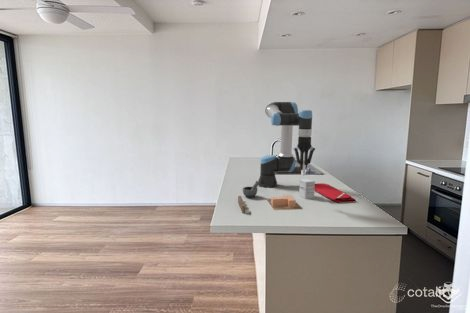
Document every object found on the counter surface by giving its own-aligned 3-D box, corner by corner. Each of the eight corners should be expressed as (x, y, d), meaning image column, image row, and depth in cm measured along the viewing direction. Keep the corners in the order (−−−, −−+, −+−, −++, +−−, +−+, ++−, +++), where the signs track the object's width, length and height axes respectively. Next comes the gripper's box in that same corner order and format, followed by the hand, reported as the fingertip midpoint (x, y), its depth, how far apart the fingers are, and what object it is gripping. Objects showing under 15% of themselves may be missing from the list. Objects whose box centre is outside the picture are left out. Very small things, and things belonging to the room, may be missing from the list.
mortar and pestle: (242, 200, 191) (242, 182, 189) (242, 196, 200) (242, 179, 198) (259, 200, 190) (259, 182, 188) (259, 196, 199) (259, 179, 197)
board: (238, 202, 186) (238, 195, 185) (292, 200, 190) (292, 194, 189) (242, 213, 166) (242, 205, 166) (302, 211, 170) (303, 203, 170)
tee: (269, 201, 184) (270, 195, 183) (289, 201, 185) (290, 195, 184) (274, 207, 173) (274, 201, 172) (295, 206, 174) (295, 200, 174)
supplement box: (298, 197, 197) (299, 179, 195) (307, 196, 200) (308, 178, 198) (304, 200, 190) (305, 181, 188) (314, 199, 193) (315, 180, 191)
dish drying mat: (326, 186, 228) (327, 182, 228) (356, 202, 188) (356, 197, 188) (307, 187, 226) (308, 182, 225) (333, 203, 186) (334, 198, 185)
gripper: (296, 136, 170) (294, 176, 173) (317, 136, 171) (315, 176, 175) (292, 135, 177) (290, 173, 180) (313, 135, 178) (311, 173, 182)
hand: (303, 174), depth 177 cm, fingers closed
